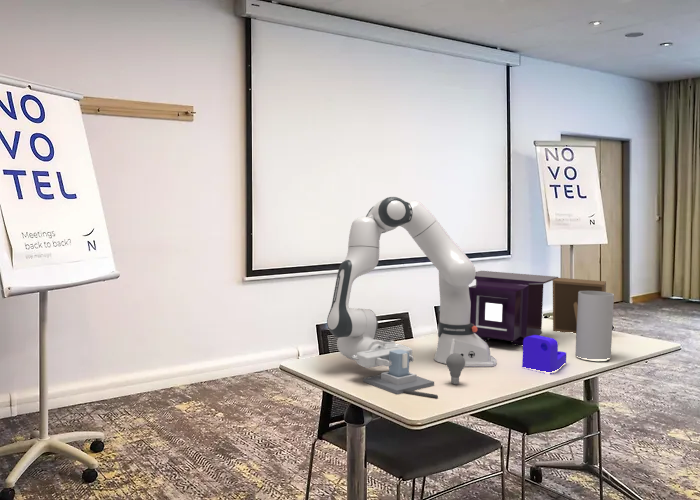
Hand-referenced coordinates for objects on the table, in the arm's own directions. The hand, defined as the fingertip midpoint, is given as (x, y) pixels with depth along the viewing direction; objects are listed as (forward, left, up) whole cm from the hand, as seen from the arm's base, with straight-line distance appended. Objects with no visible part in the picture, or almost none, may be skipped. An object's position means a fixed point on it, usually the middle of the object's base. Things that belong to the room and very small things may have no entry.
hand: (401, 361), depth 197 cm
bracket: (-52, -31, -8) cm, 61 cm away
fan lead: (-6, +10, -7) cm, 14 cm away
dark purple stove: (-41, -72, -8) cm, 83 cm away
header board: (+1, -1, -7) cm, 7 cm away
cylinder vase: (-71, -47, -8) cm, 86 cm away
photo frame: (-75, -89, -8) cm, 117 cm away
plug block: (+1, -1, -6) cm, 6 cm away
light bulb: (-17, -4, -8) cm, 19 cm away
